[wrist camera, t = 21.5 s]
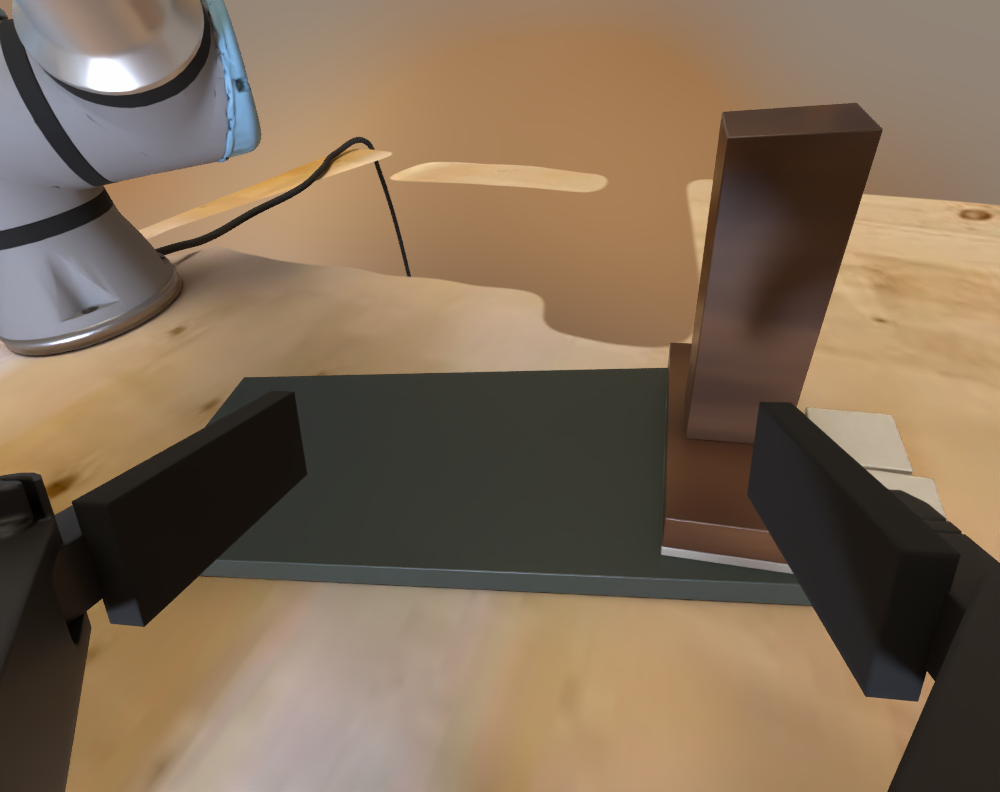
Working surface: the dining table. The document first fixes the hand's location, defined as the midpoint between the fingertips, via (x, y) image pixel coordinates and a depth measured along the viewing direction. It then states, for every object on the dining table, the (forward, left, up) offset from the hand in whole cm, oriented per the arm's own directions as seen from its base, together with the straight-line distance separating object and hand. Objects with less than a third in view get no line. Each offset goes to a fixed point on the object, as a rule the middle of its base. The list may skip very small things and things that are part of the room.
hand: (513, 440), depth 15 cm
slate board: (-9, -4, -11) cm, 14 cm away
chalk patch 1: (-10, +15, -11) cm, 21 cm away
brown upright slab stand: (-8, +8, -9) cm, 15 cm away
